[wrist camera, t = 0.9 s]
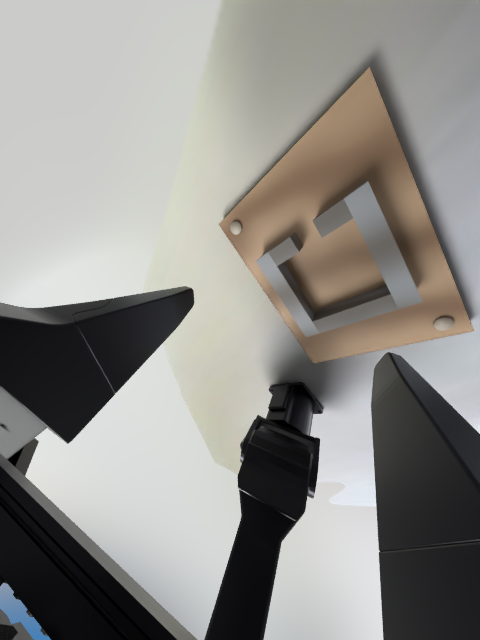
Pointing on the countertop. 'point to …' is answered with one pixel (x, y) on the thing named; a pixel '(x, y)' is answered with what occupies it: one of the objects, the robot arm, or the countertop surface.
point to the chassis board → (348, 238)
